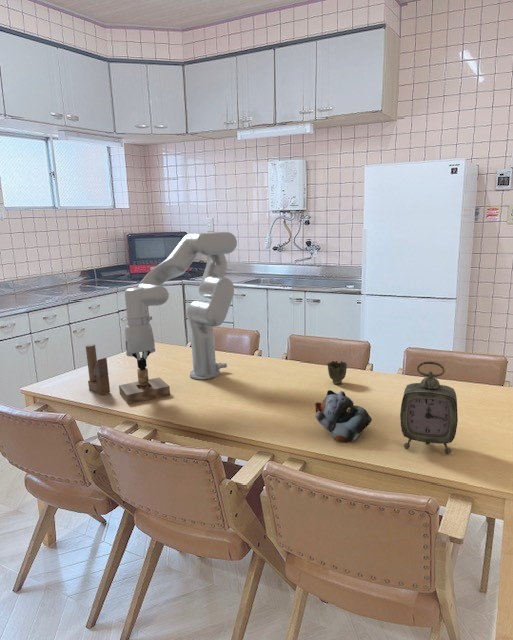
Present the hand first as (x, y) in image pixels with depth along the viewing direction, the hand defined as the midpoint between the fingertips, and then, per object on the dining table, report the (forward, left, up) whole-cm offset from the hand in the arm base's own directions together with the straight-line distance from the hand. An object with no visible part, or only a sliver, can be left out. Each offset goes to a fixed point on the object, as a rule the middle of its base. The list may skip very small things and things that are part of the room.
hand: (142, 369), depth 183 cm
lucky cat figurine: (-42, +66, -10) cm, 79 cm away
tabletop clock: (-56, +86, -10) cm, 103 cm away
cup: (-67, +31, -10) cm, 75 cm away
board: (0, 0, -10) cm, 10 cm away
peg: (0, 0, -10) cm, 10 cm away
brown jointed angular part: (+14, -14, -10) cm, 22 cm away
